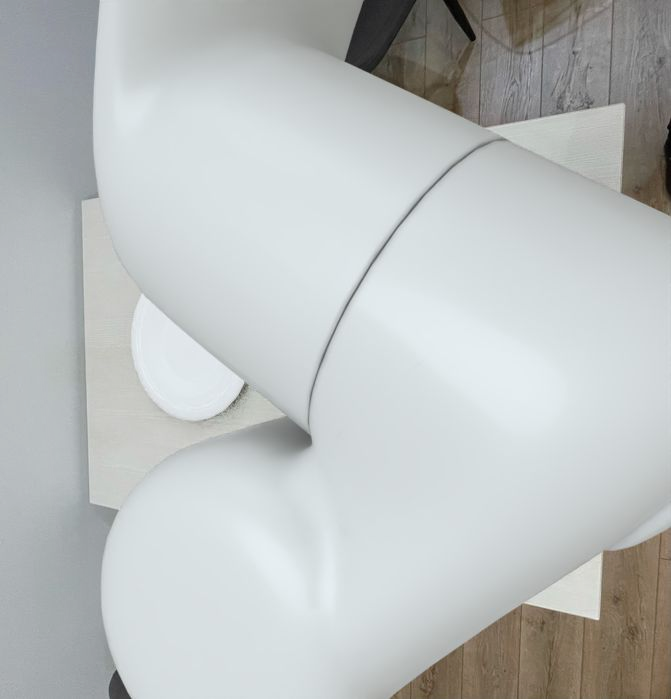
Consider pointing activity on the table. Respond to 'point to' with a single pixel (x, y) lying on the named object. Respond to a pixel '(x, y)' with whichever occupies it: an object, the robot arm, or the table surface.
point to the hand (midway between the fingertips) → (490, 410)
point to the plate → (178, 367)
